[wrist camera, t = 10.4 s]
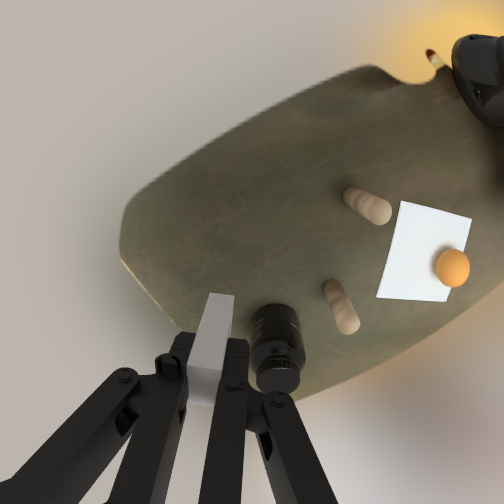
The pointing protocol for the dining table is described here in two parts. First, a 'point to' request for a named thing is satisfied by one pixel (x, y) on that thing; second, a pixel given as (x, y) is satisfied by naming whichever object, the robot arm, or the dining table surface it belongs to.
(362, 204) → the post
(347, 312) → the post
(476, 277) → the dining table surface
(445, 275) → the ball
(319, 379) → the dining table surface
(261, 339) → the supplement bottle
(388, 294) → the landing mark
